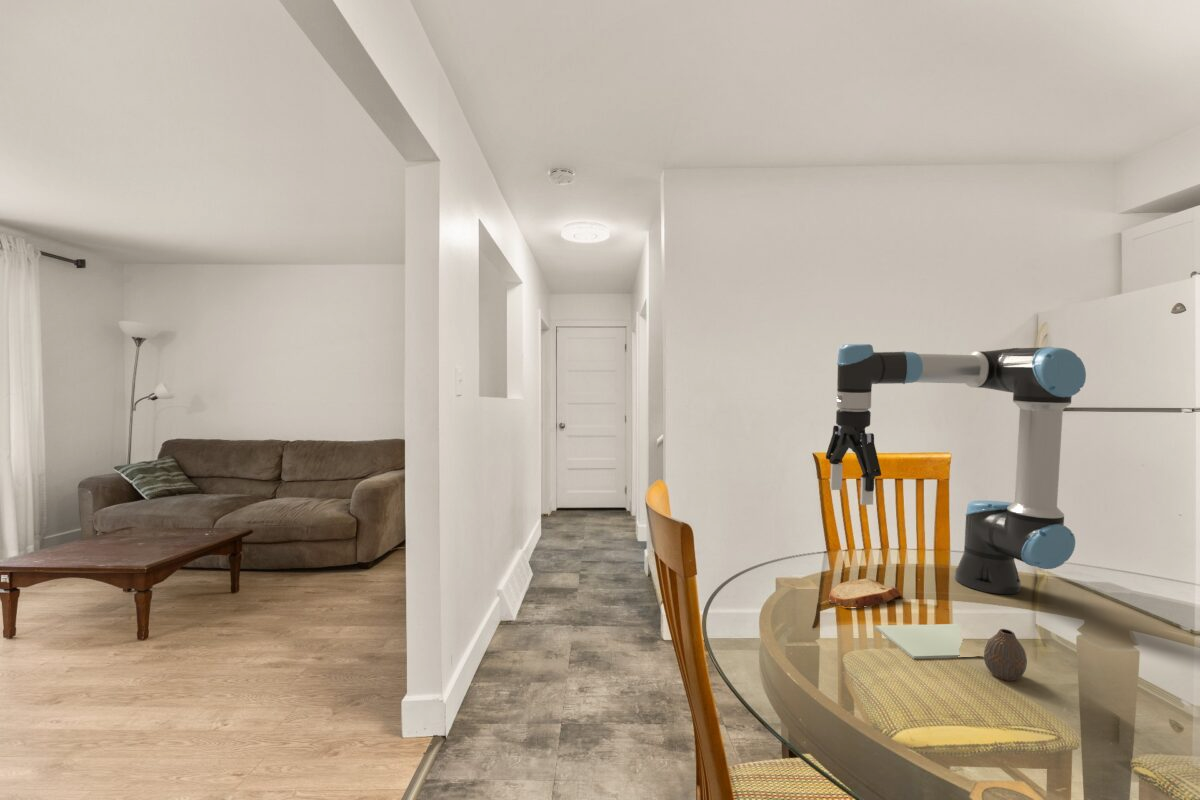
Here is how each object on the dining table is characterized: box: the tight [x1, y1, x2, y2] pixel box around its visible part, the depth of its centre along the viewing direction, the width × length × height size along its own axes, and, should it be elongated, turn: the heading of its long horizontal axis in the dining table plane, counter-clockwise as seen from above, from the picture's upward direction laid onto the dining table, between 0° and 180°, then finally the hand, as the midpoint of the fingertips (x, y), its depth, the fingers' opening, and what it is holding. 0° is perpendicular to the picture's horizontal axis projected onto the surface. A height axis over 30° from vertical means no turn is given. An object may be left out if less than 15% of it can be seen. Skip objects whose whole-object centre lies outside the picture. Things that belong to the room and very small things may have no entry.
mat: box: [874, 623, 963, 660], centre depth 130 cm, size 20×14×1 cm
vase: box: [983, 628, 1028, 682], centre depth 116 cm, size 7×7×9 cm
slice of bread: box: [828, 578, 901, 608], centre depth 153 cm, size 18×18×4 cm
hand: (850, 496), depth 145 cm, fingers open, 13 cm apart
